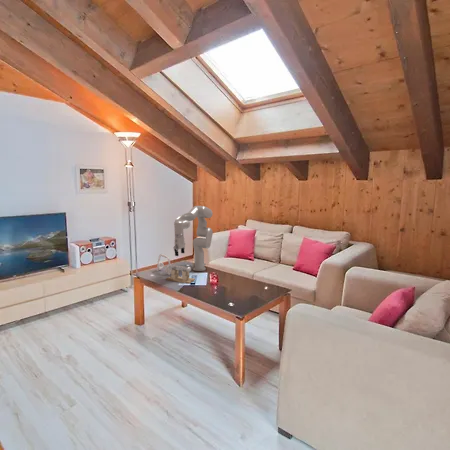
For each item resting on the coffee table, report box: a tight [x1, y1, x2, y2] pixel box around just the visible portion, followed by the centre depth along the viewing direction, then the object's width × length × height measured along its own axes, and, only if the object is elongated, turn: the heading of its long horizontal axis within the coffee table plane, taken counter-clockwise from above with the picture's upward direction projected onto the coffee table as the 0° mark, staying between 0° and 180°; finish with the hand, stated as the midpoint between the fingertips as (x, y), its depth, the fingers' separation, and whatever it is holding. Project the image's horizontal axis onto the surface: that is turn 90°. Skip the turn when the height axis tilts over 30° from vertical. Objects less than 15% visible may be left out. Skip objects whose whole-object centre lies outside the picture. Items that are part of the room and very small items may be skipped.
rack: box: [165, 268, 196, 285], centre depth 290 cm, size 10×24×12 cm, turn 65°
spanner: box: [168, 264, 192, 273], centre depth 289 cm, size 22×6×3 cm, turn 66°
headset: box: [156, 253, 172, 276], centre depth 311 cm, size 20×7×18 cm, turn 42°
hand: (179, 254), depth 287 cm, fingers open, 9 cm apart
